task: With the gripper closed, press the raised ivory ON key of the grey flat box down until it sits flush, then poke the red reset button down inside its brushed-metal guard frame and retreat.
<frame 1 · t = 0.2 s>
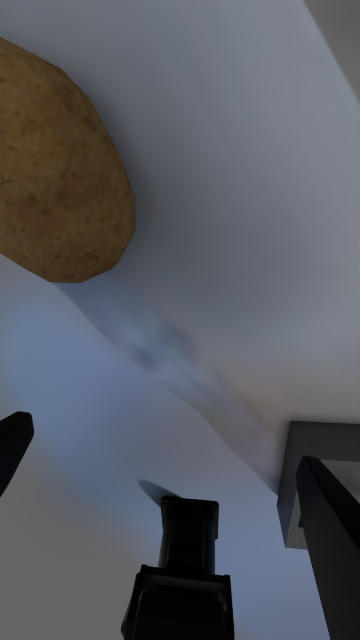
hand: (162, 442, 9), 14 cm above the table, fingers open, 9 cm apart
grey flat box: (357, 472, 28), on the table
potato: (64, 171, 20), on the table
on key: (337, 516, 24), point 4 cm above the table, slide at 0.0 cm
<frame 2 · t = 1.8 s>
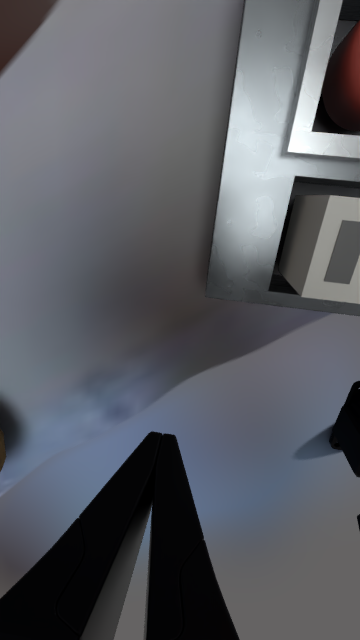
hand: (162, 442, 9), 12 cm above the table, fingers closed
grey flat box: (329, 170, 16), on the table
on key: (341, 245, 13), point 4 cm above the table, slide at 0.0 cm
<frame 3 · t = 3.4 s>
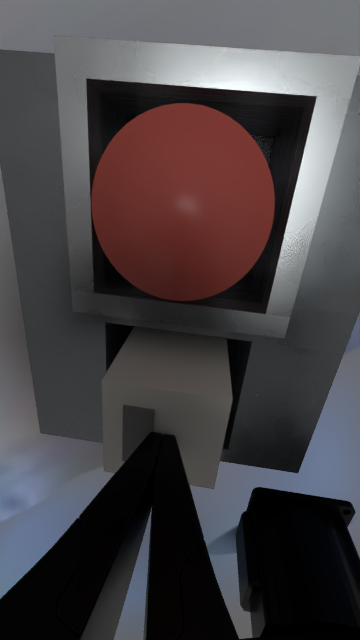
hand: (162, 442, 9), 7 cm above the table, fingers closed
grey flat box: (188, 282, 14), on the table
reset button: (188, 209, 8), point 4 cm above the table, slide at 0.0 cm
on key: (171, 393, 11), point 4 cm above the table, slide at 0.3 cm, touching gripper
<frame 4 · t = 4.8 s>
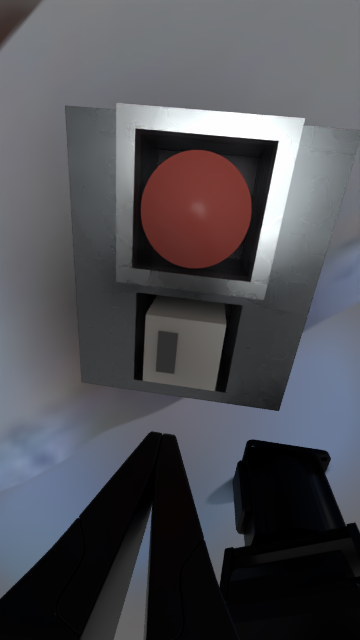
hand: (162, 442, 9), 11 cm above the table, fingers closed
grey flat box: (195, 266, 18), on the table
reset button: (198, 210, 12), point 4 cm above the table, slide at 0.0 cm
on key: (185, 334, 17), point 3 cm above the table, slide at 1.8 cm
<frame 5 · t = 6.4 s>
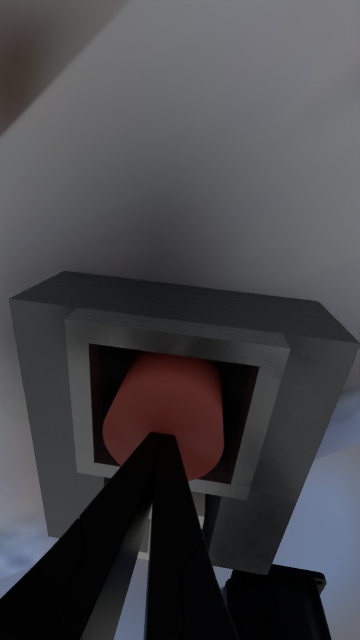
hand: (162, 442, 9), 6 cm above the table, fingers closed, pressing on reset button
grey flat box: (175, 403, 16), on the table
reset button: (171, 394, 11), point 4 cm above the table, slide at 0.9 cm, touching gripper
on key: (163, 488, 15), point 3 cm above the table, slide at 1.8 cm
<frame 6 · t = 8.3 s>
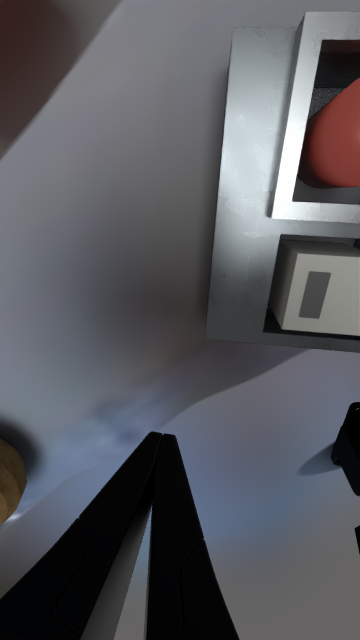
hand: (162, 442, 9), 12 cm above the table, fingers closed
grey flat box: (314, 215, 17), on the table
reset button: (350, 140, 13), point 3 cm above the table, slide at 1.8 cm
on key: (315, 283, 16), point 3 cm above the table, slide at 1.8 cm
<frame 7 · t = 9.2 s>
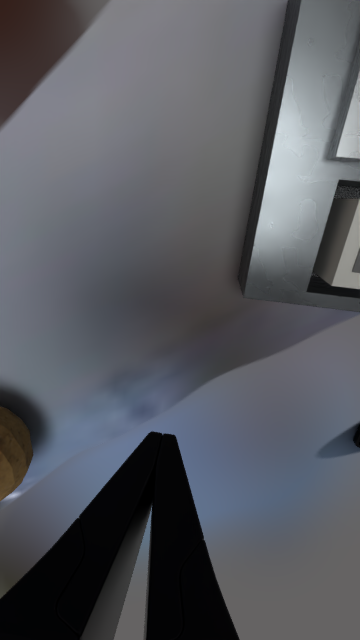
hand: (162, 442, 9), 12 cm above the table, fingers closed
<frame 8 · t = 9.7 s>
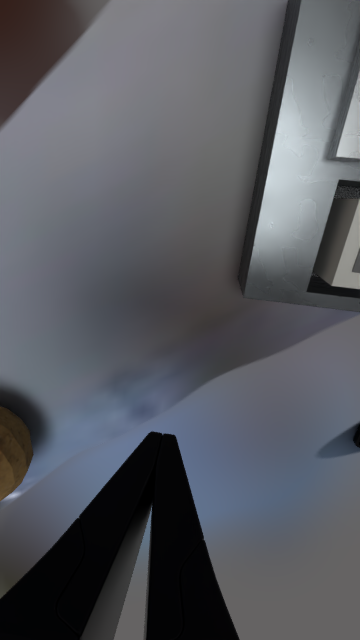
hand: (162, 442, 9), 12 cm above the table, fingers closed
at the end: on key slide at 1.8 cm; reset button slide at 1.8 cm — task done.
